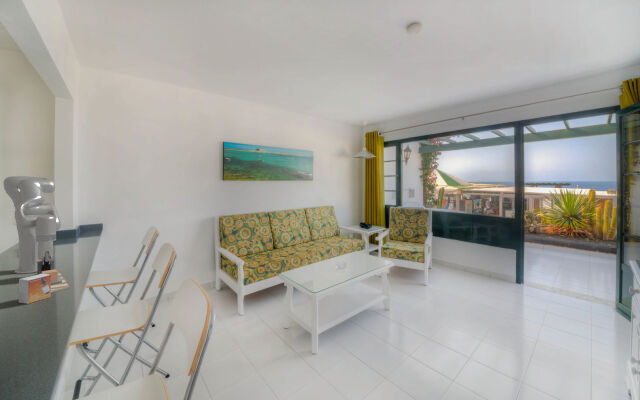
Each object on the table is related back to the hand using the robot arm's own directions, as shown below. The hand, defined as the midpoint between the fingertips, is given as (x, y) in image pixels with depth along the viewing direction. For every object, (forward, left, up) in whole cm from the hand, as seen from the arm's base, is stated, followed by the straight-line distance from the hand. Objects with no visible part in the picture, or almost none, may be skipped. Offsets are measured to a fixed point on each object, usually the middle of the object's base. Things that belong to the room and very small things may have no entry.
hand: (45, 270), depth 136 cm
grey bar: (+10, 0, -2) cm, 10 cm away
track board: (+13, 0, -4) cm, 14 cm away
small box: (+36, -6, -4) cm, 36 cm away
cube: (+17, 0, -2) cm, 17 cm away
